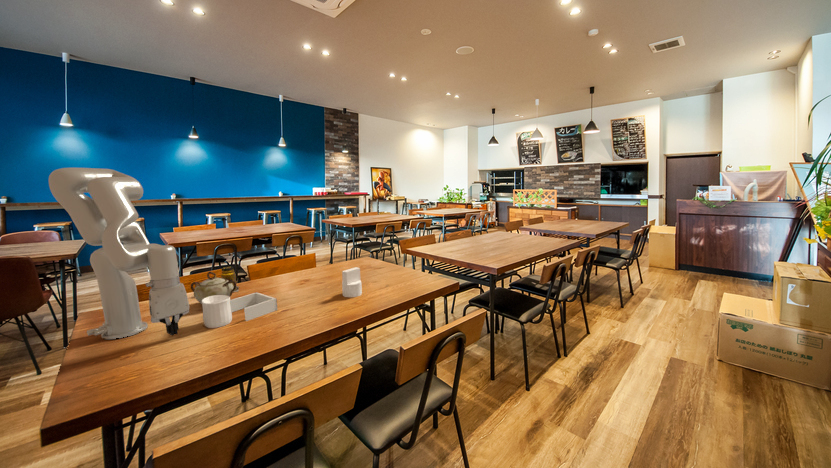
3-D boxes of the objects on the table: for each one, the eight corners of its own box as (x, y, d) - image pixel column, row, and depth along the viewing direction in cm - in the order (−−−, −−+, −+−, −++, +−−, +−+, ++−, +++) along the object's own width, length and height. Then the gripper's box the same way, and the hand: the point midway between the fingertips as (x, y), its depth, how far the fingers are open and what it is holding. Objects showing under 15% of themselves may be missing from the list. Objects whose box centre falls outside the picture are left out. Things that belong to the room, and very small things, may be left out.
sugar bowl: (181, 311, 135) (176, 276, 133) (203, 298, 150) (200, 267, 148) (228, 310, 135) (224, 276, 133) (246, 298, 150) (243, 266, 148)
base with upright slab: (351, 298, 147) (350, 273, 145) (338, 294, 153) (337, 270, 151) (365, 293, 154) (364, 268, 153) (352, 289, 160) (351, 266, 158)
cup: (219, 329, 118) (216, 304, 116) (196, 327, 120) (193, 302, 118) (238, 319, 127) (236, 295, 125) (216, 317, 129) (214, 293, 127)
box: (246, 321, 125) (245, 308, 124) (227, 312, 133) (226, 301, 132) (277, 309, 135) (276, 298, 134) (257, 303, 144) (256, 292, 143)
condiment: (221, 294, 156) (218, 270, 155) (222, 289, 164) (219, 266, 162) (238, 291, 160) (236, 268, 158) (238, 286, 167) (236, 264, 165)
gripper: (141, 290, 100) (150, 345, 103) (195, 278, 112) (202, 328, 115) (133, 286, 104) (142, 339, 107) (186, 275, 116) (192, 323, 119)
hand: (173, 333), depth 111 cm, fingers closed
